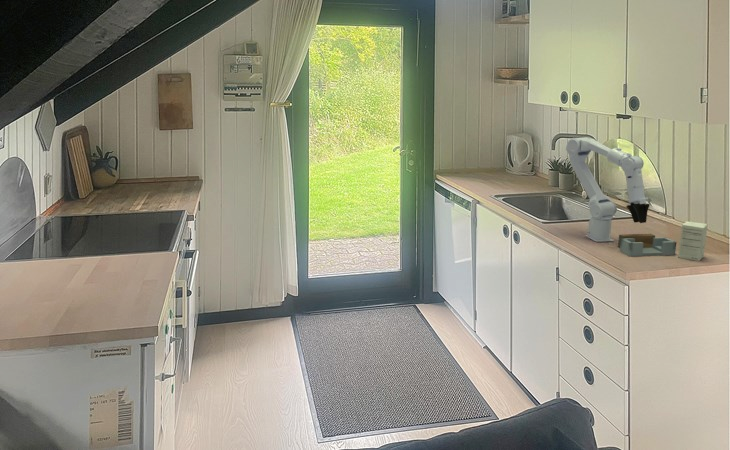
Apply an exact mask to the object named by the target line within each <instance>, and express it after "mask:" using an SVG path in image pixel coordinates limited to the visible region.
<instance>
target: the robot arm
mask: <svg viewBox="0 0 730 450" xmlns="http://www.w3.org/2000/svg"><path fill="white" fill-rule="evenodd" d="M565 151H566V152H567V154H568V157H569V163H570V165H571V167H572V169H573V171H574V173H575V175H576V177H577V179H578V180H579V182H580V183H581V185H582V189H584V192H585V193H586V195H587V197H588V199H589V201H588V204H587V206H588V208H589V214H590V216H591V217H590V219H589V221H588V226H587V227H588V229H587V234H585V237H587V238H588V239H590V240H592V241H594V242H595V243H596V242H597V243H600V242H615V239H613V238H611V233H612V221H613V218H614V216H615V214H616V213H617V205H616V203H615V202H614V201H612V200H611V198H610V197H609V196H608V195H606V194H604V193H603V191H602V189H601V188H600V186H599V184H598V182H597V180H596V179H595V178H596V177H594V175H593V173H592V172H591V170H590V168H589V166H588V164H587V163H586V160H587V158H588V157H589V155H590V153H592V152H594V153H597V154H598V155H602V156H604V157H606V159H607V161H608V162H610V163H612V164H614V165H616V166H618V167H620V168H621V170H622V171H623V173H624V176H625V181H626V187H627V195H628V196H627V197H628V203H629V204H630V205H629V204H628V205H626V208H627V210H628V212H629V213H630V215H631V217H632V221H633V223H634V224H635V223H640V224H644V223H645V224H646V223H647V217H648V211H649V208H650V203H647V204H646V202H647V201H646V200H649V197H647V196H646V195H645V188H644V179H643V174H642V169H643V168H644V163H645V162H644V159H643V158H642V157H641V156H639V155H632V153H630V152H625V151H623V150H622V148H621V147H614V148H610V147H608V146H606V145H604V144H603V143H601V142H599V141H597V140H596V139H595V138H591V137H589V136H585V137H572V138H569V140H568V141H567V144H566V148H565Z"/></svg>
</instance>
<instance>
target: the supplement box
mask: <svg viewBox="0 0 730 450" xmlns="http://www.w3.org/2000/svg"><path fill="white" fill-rule="evenodd" d="M708 225H709V224H708V223H702V222H695V221H694V222H693V221H685V222H684V223H683V224H682V225H681V232H680V241H679V249H678V259H679V258H680V259H684V260H689V261H697V262H700V261H701V260H702V259H703V258H704V256H705V248H706V242H707V240H706V239H707V232H708Z"/></svg>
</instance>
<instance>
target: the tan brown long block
mask: <svg viewBox="0 0 730 450" xmlns="http://www.w3.org/2000/svg"><path fill="white" fill-rule="evenodd" d="M624 238H634V239H635V242H642V243H643V248H652V245H653V238H656V235H655V234H652V233H633V234H632V233H628V234H626V233H625V234H618V243H617V247H618V248H619V249H620V244H621V239H624Z"/></svg>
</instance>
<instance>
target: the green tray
mask: <svg viewBox="0 0 730 450" xmlns="http://www.w3.org/2000/svg"><path fill="white" fill-rule="evenodd" d="M676 248H677V241H676V240H673V239H671V238H668V237H666V236H665V237H663V236H662V237H660V236H659V237H655V238H653V245H652V248H643V243H642V242H635V239H634V238H624V239H621V244H620V248H619V252H620V253H622V254H624V255H626V256H628V257H648V256H649V257H651V256H676V251H677V250H676Z"/></svg>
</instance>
